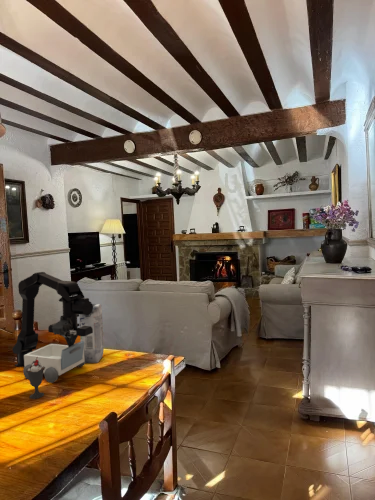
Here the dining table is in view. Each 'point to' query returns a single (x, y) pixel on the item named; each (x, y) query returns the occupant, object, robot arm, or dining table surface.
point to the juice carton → (93, 335)
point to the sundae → (35, 377)
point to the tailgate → (72, 354)
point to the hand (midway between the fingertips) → (70, 349)
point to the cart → (50, 361)
